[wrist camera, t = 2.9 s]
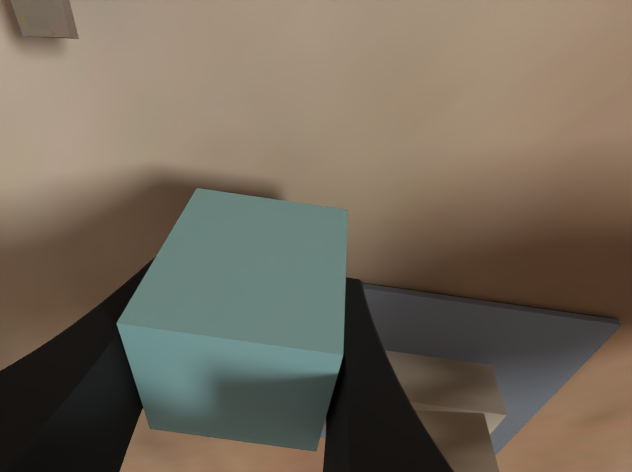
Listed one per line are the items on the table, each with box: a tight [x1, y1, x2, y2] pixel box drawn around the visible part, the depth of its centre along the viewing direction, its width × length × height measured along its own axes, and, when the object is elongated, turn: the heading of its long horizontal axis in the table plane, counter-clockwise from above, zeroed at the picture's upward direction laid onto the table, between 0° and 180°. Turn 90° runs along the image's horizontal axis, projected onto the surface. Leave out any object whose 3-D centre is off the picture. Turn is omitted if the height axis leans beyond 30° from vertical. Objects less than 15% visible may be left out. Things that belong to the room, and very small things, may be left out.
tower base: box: [385, 350, 507, 434], centre depth 20 cm, size 6×6×2 cm
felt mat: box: [320, 283, 621, 455], centre depth 21 cm, size 14×14×1 cm
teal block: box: [117, 188, 348, 451], centre depth 11 cm, size 4×4×5 cm
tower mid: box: [415, 410, 499, 472], centre depth 18 cm, size 5×5×2 cm
